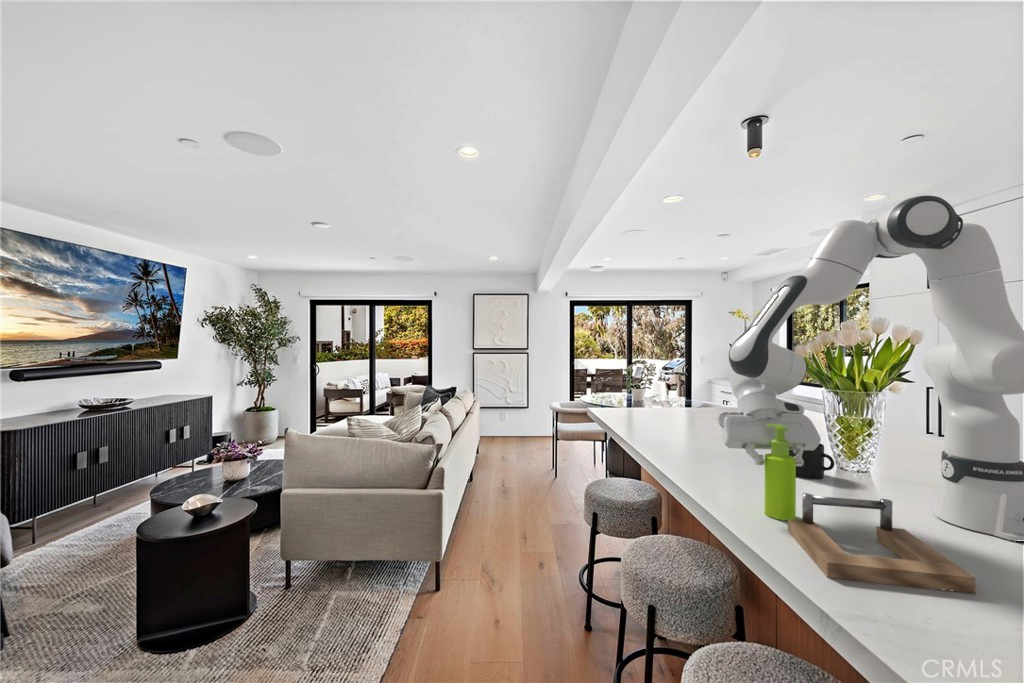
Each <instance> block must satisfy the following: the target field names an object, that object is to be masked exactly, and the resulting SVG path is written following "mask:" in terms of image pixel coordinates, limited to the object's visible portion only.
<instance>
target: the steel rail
mask: <svg viewBox="0 0 1024 683" xmlns="http://www.w3.org/2000/svg"><path fill="white" fill-rule="evenodd" d="M814 505H815V506H816V505H817V506H826V507H827V506H829V507H840V508H841V507H842V508H853V509H854V508H855V509H856V508H858V509H869V510H870V509H871V510H879V527H880V528H881V529H883V530H887V531H892V528H893V500H892V499H891V500H890V499H886V498H880V500H874V499H873V500H872V499H855V498H845V497H834V496H833V497H831V496H830V497H829V496H817V495H814V494H811V493H806V492H805V493H802V506H801V507H802V510H801V511H802V512H801V513H802V519H801V520H802V521H803V522H804V523H807V524H813V522H814Z"/></svg>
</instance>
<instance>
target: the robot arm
mask: <svg viewBox="0 0 1024 683" xmlns="http://www.w3.org/2000/svg"><path fill="white" fill-rule="evenodd" d="M911 254H912V255H913V254H914V255H917V257H919V258H920V260H921V261H922V262H923V264H924V267H925V268H926V275H927V281H928V287H929V292H930V297H931V301H932V308H933V312H934V315H935V317H936V319H937V320H938V321H940V323H942V324H943V325H944V326H945V328H946V329H947V331H948V332H949V334H950V336H951V338H952V339H953V340H948V341H944V342H941V343H939V344H936V345H934V346H932V347H931V348H929V349H928V351H927V352H925V355H924V358H923V361H922V362H923V367H924V370H925V372H926V374H928V376H929V377H930V378H931V380H932V382H933V384H934V386H935V389H936V393H937V396H938V399H939V403H940V406H941V410H942V415H943V428H944V431H943V432H944V433H943V436H944V438H943V439H944V445H943V446H944V450H943V451H941V458H940V460H941V462H940V464H941V466H940V467H941V468H940V469H941V477H942V483H941V487H940V488H941V489H940V492H939V498H938V501H937V504H936V506H935V509H933V510H934V511H933V514H934V515H935V517H937V518H938V519H940V520H942V521H945V522H947V523H949V524H952V525H953V526H958V527H961V528H964V529H967V530H971V531H973V532H974V531H975V532H980V533H984V534H986V535H987V534H989V535H992V536H996V537H997V538H998V537H999V538H1002V539H1004V540H1008V541H1012V540H1013V541H1012V542H1016V541H1017V540H1024V461H1022V460H1021V435H1020V434H1021V425H1020V423H1019V421H1018V419H1017V418H1016V417H1015V415H1014V414H1013V413H1012V411H1010V410H1009V407H1008V406H1007V404H1006V402H1005V399H1004V396H1005V395H1006V396H1007V395H1011V396H1012V395H1020V394H1022V395H1023V394H1024V329H1023V327H1022V326H1021V324H1020V323H1019V321H1018V319H1017V318H1016V316H1015V314H1014V313H1013V310H1012V308H1011V305H1010V303H1009V297H1008V294H1007V289H1006V286H1005V285H1006V284H1005V281H1004V276H1003V271H1002V266H1001V262H1000V259H999V256H998V253H997V250H996V246H995V245H994V242H993V240H992V238H991V236H990V234H989V232H988V231H987V229H986V228H985V227H984V226H982V225H981V224H976V223H968V222H966V223H965V222H964V220H963V218H962V217H961V215H958V214H957V212H956V210H955V209H954V207H953V206H952V205H951V204H950V203H949V202H948V201H947V200H945V199H944V198H942V197H940V196H935V195H919V196H914V197H910V198H907V199H905V200H903V201H901V202H900V203H897V204H895V205H893V206H892V207H889V208H887V209H886V210H885V211H884V212H882V213H881V214H880V215H878V216H877V217H875V218H874V219H872V220H870V221H869V222H864V221H862V220H857V219H849V220H843V221H840V222H837V223H835V225H833V226H832V227H831V228H830V229H829V230H828V232H827V233H826V234H825V236H823V238H822V239H821V241H820V242H819V244H818V245H817V247H816V248H815V250H814V251H813V253H812V255H811V256H810V258H809V260H808V262H807V263H806V265H805V266H804V267H803V268H802V269H801V270H800V271H799V273H797V274H795V275H792V276H789V277H788V278H786V279H784V281H782V283H780V285H779V286H778V287H777V289H775V291H774V292H773V293H772V295H771V296H770V297H769V298H768V300H767V301H766V303H765V304H764V305H763V306H762V309H761V310H760V311H759V312H758V314H756V316H755V318H754V319H753V320H752V322H751V323H750V324H749V325H748V327H747V328H746V329H745V331H743V333H742V334H741V335H740V336H739V337H738V338H736V339H735V341H734V342H733V343H732V344H731V346H730V347H729V351H728V362H729V364H730V365H729V369H728V380H729V383H730V384H729V385H730V387H731V391H732V393H733V396H734V397H735V398H736V402H737V403H736V404H737V408H738V411H737V412H736V411H734V412H728V411H724V412H722V413H720V414H718V416H717V421H718V424H719V426H720V428H721V433H722V435H721V436H722V441H723V445H724V446H725V447H727V448H728V449H738V450H740V449H741V450H743V449H744V450H745V453H746V454H747V455H748V456H749V457H751V459H753V460H754V464H755V465H756V466H765V456H764V455H763V454H759V452H757V451H756V450H771V440H774V439H776V429H775V428H772V427H766V424H780V425H783V426H785V427H787V428H788V431H784V439H785V440H786V441H788V442H789V450H793V452H794V453H797V455H796V456H794V458H795V459H796V466H802V465H803V464H804V461H803V459H802V454H803V450H815V449H816V448H817V446H818V445H819V443H820V444H821V435H820V434H819V432H818V430H817V428H816V426H815V424H814V423H813V421H812V420H811V419H810V417H808V416H806V415H805V414H804V413H805V408H804V407H803V405H801V404H798V403H794V402H790V401H786V400H783V399H780V398H778V397H777V396H778V395H782V394H785V393H786V392H788V391H790V390H793V389H795V388H797V387H798V386H800V385H801V383H802V382H803V381H805V378H806V376H807V374H808V373H807V372H808V366H807V361H806V359H805V358H804V356H802V355H801V354H798V353H797V352H795V351H793V350H790V349H789V348H786V347H783V346H780V345H779V344H777V343H774V342H773V338H774V337H775V336H776V334H777V333H778V332H779V330H780V329H781V328H782V326H783V325H784V324H785V322H787V320H788V318H789V317H790V315H791V314H792V313H793V312H794V311H795V310H797V309H798V308H801V307H803V306H808V305H811V306H814V305H816V306H817V305H819V306H823V305H832V304H835V303H840V302H841V301H843V300H845V299H847V298H849V296H850V295H851V294H852V293H853V292H854V291H855V289H856V288H857V286H858V284H859V283H860V281H861V279H862V277H863V276H864V274H865V272H866V270H867V268H868V266H869V265H870V264H871V263H872V261H873V259H874V258H880V259H896V258H900V257H903V256H907V255H911Z"/></svg>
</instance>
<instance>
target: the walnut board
mask: <svg viewBox="0 0 1024 683" xmlns="http://www.w3.org/2000/svg"><path fill="white" fill-rule="evenodd" d="M788 531H789V532H788ZM787 532H788V533H789V534H790V536H793V537H792V538H793V539H794V540H795V542H796V543H798V545H799V546H800V547H801V548H802V550H803V551H804V552H805V553H806V555H808V557H809V559H811V560H812V561H813V562H814V564H815V565H816V566H817V567H818V569H820V571H821V572H822V573H823V574H824V575H825V576H826V578H827V579H828V578H830V579H837V580H846V581H855V582H865V583H873V584H874V583H875V584H882V585H883V584H884V585H891V586H892V585H893V586H902V587H909V588H918V589H920V588H921V589H927V588H933V589H932V590H936V589H945V590H953V591H952V592H954V591H959V592H958V593H963V592H964V594H973V595H976V583H977V582H976V577H975V576H973V575H972V574H971V573H970V572H968V571H966V570H965V569H964V568H962V567H960V566H959V565H958V564H956V563H954V561H952V560H950V559H949V558H948V557H946V556H944V555H943V554H941V553H940V552H938V550H935V549H934V548H932V547H931V546H930V545H928V544H927V543H925V542H924V541H922V540H921V539H920V538H918V537H917V536H915V535H913V534H912V533H910V532H909V531H908V530H906V529H905V528H899V527H892V531H887V530H883V529H881V528H880V526H876V540H877V541H878V540H879V541H880V542H879V541H878V542H879V543H881V544H882V545H883V544H884V545H885V546H884V545H883V546H884V547H885V548H887V549H888V548H889V549H890V552H892V553H893V554H895V555H896V556H897V557H898V558H893V557H892V558H891V557H882V556H881V557H879V556H870V555H861V554H851V553H847V552H845V550H843V549H842V548H841V547H840V545H838V544H837V543H836V542H835V541H834V540H833V539H832V538H831V537H830V536H829V535H828V534H827V533H826V532H825V531H824V530H823V529H822V528H820V527H819V525H818V524H816V523H815V521H813V524H807V523H804V522H803V521H802V519H795V520H794V519H788V521H787ZM889 549H888V550H889ZM945 590H944V591H945Z"/></svg>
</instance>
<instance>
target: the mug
mask: <svg viewBox="0 0 1024 683" xmlns="http://www.w3.org/2000/svg"><path fill="white" fill-rule="evenodd" d="M796 455H797V453H794V452H793V450H789V456H792V457H794V456H796ZM825 458H826V459H827V460H829V462H830V465H829V466H825ZM802 459H803V461H804V464H803V465H802V466H796V478H799V479H805V480H821V479H823V478H824V477H825V471H831V470H832V469H834V467H835V460H834V458H833V456H831V455H830V454H828V453H825V445H824V444H822V443H821V442H820V443H819V445H818V446H817V448H816V449H815V450H803V454H802Z"/></svg>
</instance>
